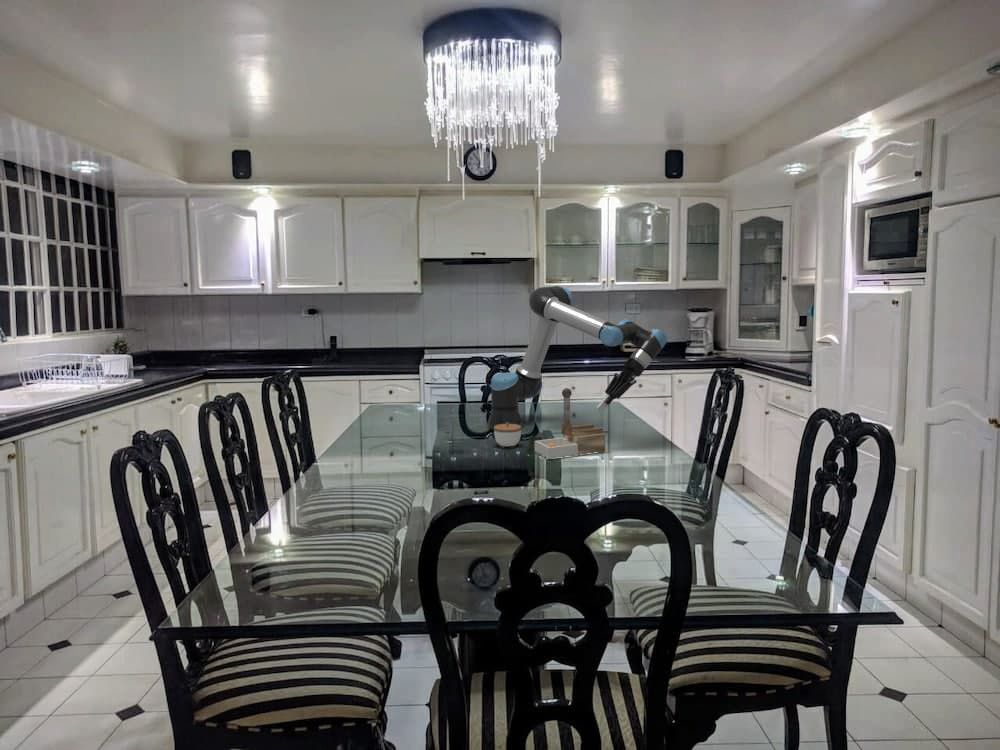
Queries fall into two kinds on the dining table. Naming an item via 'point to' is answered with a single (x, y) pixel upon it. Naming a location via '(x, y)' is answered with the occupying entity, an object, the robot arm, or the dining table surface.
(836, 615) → the dining table surface
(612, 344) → the robot arm
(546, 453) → the tray
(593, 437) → the launcher
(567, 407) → the plunger
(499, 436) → the lidded jar
